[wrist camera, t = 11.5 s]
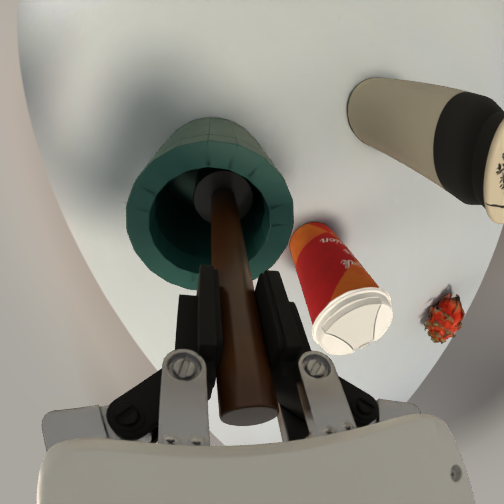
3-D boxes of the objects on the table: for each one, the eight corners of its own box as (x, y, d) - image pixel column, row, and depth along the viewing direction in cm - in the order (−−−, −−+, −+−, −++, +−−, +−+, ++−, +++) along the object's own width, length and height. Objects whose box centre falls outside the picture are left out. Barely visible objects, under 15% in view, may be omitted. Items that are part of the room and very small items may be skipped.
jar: (156, 208, 27) (129, 283, 18) (165, 112, 22) (128, 133, 12) (250, 219, 30) (271, 295, 20) (271, 127, 24) (314, 159, 14)
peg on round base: (193, 199, 24) (177, 436, 8) (200, 152, 22) (173, 382, 5) (241, 205, 25) (294, 432, 9) (250, 159, 23) (347, 377, 6)
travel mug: (354, 67, 21) (506, 84, 6) (411, 92, 23) (547, 138, 8) (339, 137, 25) (468, 219, 11) (396, 153, 27) (516, 234, 12)
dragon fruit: (416, 323, 51) (436, 277, 46) (447, 332, 47) (469, 287, 42) (417, 348, 44) (441, 298, 39) (451, 357, 41) (477, 309, 35)
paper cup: (347, 249, 34) (400, 331, 22) (295, 277, 35) (329, 367, 24) (328, 201, 30) (393, 281, 18) (268, 233, 31) (302, 329, 20)
